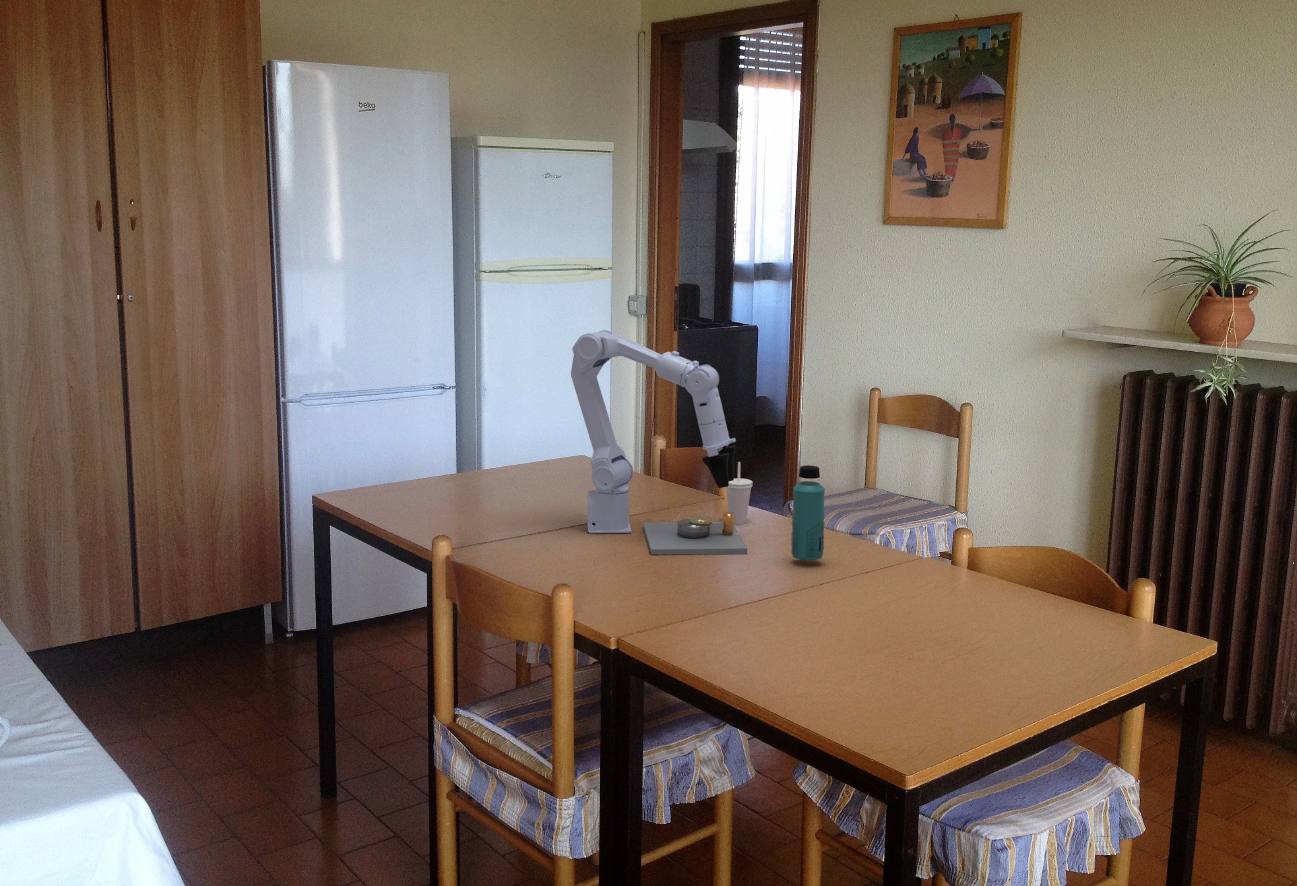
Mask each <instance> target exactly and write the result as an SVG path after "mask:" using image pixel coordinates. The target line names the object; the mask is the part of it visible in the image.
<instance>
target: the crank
mask: <svg viewBox="0 0 1297 886" xmlns="http://www.w3.org/2000/svg"><path fill="white" fill-rule="evenodd" d="M734 526H735V524H734V513H732V512H729V511H724V512H722V521H713V518H712V517H711V516H710V515H704V514H703V515H702V514H701V515H699V514H698V515H697V514H696V515H691V516H689V517H688V518H684V519H679V520H678V521H677V534H678V535H679V536H682V537H688V538H701V537H706V536H708V535H709V534H710V529H722V534H725V535H731V534H733V527H734Z"/></svg>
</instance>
